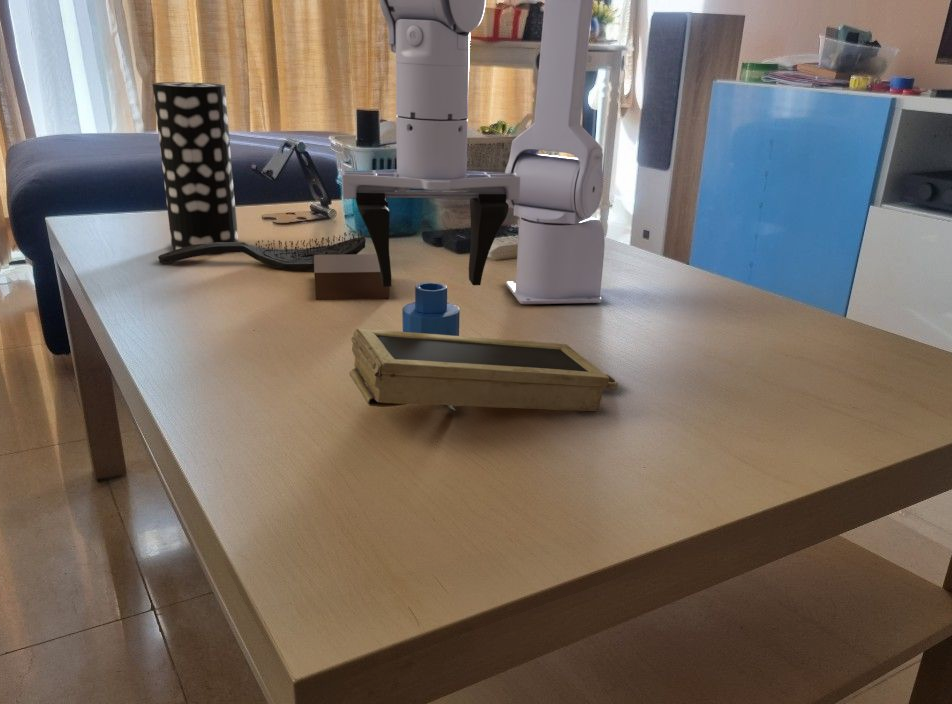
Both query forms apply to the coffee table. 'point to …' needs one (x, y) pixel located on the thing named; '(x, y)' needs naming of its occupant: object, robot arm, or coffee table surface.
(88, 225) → the coffee table surface
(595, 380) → the box
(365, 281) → the block
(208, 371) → the coffee table surface
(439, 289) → the bottle
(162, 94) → the white-spotted black cylinder
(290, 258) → the hairbrush
